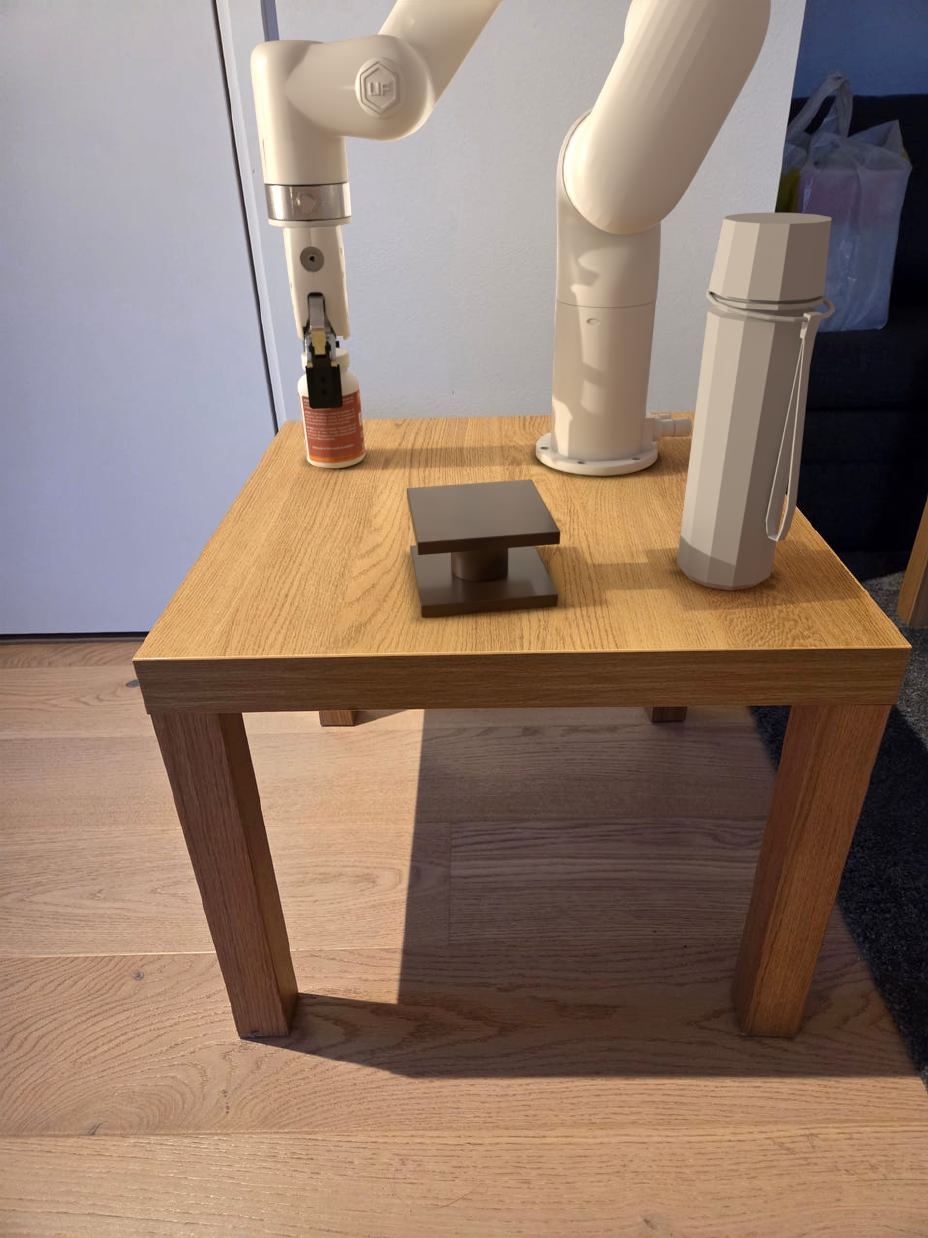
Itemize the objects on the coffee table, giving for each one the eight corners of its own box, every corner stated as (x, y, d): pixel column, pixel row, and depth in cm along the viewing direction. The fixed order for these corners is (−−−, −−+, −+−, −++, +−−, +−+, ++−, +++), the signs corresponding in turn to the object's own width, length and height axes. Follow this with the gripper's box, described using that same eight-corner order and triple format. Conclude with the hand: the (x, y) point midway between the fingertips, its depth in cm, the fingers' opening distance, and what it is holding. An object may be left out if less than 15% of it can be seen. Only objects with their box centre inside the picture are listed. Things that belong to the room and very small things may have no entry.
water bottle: (652, 564, 67) (689, 216, 54) (731, 544, 70) (784, 208, 57) (729, 617, 60) (793, 230, 47) (814, 592, 62) (896, 221, 50)
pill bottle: (376, 461, 88) (367, 353, 82) (322, 474, 85) (309, 363, 79) (349, 445, 92) (339, 342, 87) (297, 457, 90) (283, 351, 84)
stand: (530, 546, 70) (531, 478, 67) (557, 606, 62) (560, 531, 58) (410, 556, 69) (406, 487, 66) (421, 618, 60) (417, 542, 57)
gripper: (352, 213, 69) (367, 417, 78) (349, 196, 84) (361, 369, 93) (259, 216, 69) (285, 421, 77) (272, 198, 83) (292, 372, 92)
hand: (326, 393), depth 85 cm, fingers open, 9 cm apart
